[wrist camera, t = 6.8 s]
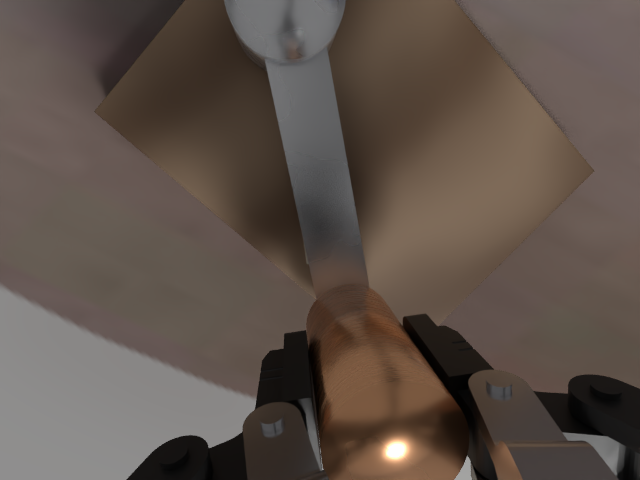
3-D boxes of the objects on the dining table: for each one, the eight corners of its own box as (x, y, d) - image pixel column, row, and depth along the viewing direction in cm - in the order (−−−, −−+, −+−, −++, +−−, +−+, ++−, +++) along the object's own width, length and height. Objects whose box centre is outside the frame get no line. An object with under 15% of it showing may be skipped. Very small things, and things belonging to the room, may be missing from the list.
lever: (222, -27, 12) (116, -332, 5) (325, -46, 12) (386, -368, 5) (307, 349, 16) (328, 528, 8) (389, 330, 16) (485, 489, 8)
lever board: (113, 116, 15) (92, 111, 13) (315, -129, 13) (319, -167, 12) (387, 350, 18) (396, 368, 16) (567, 170, 17) (596, 171, 15)
